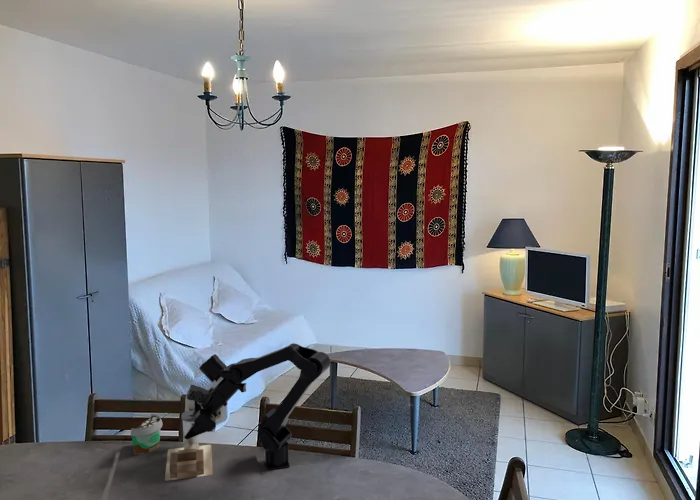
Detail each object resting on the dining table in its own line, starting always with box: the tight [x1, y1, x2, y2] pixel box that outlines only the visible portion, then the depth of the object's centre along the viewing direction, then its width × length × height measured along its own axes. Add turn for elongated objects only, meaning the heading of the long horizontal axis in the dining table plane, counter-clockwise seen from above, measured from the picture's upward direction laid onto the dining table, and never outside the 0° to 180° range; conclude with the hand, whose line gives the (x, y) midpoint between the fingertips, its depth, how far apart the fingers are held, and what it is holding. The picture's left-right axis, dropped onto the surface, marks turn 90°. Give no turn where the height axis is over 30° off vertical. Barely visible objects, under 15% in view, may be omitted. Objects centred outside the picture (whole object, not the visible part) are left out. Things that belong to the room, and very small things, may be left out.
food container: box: [130, 413, 164, 455], centre depth 176 cm, size 12×6×10 cm, turn 168°
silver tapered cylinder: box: [181, 410, 200, 450], centre depth 171 cm, size 5×5×13 cm
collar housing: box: [164, 444, 214, 481], centre depth 168 cm, size 13×19×6 cm
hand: (185, 431), depth 171 cm, fingers open, 9 cm apart
